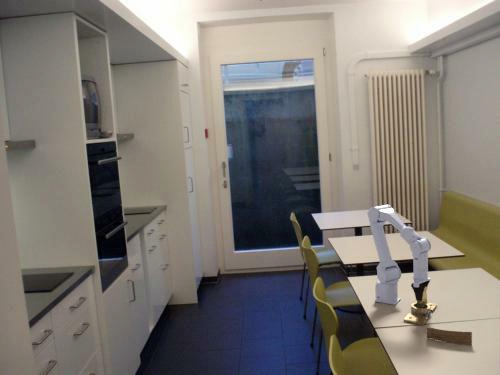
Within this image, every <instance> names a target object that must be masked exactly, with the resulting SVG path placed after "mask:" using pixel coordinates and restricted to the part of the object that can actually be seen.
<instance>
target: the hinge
mask: <svg viewBox="0 0 500 375" xmlns="http://www.w3.org/2000/svg"><path fill="white" fill-rule="evenodd" d="M437 306H438V304H437V303H432V302H427V304H425V305H420V304H417V301H416V302H412V303H411V305H410V312H408V313H407V314H406V316H405V317H404V318H403V322H404V323H408V322H409V324H413V323H414V324H413V325H419V326H425V324H426V322H428V320H429V317H430V316H431V313H433V312H434V311H435V309H436V308H437Z"/></svg>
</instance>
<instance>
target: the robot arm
mask: <svg viewBox="0 0 500 375" xmlns="http://www.w3.org/2000/svg"><path fill="white" fill-rule="evenodd" d="M367 216H368V217H367V218H368V221H369V226H370V230H371V234H372V237H373V238H372V239H373V241H374V245H375V248H376V252H377V256H378V260H379V263H378V265H377V266H376V273H377V274H376V277H377V279H378V280H377V281H376V283H375V300H374V301H375V302H378V303H383V304H390V305H394V306H396V305H397V303H399V302H400V301H401V297H398V293H399V292H398V289H399V287H398V285H399V284H398V282H400V279H401V278H402V271H401V269H400V267H399V266H398V263H397V262H396V261H394V260H393V259H392V254H391V251H390V247H389V245H388V241H387V240H388V239H387V237H386V234H385V230H384V225H385V223H387V222H388V223H389V224H391V225H392V227H394V228H395V229H396V230H397V231H399V234H400V237H401V238H402V239H403V240H404V241H405V242H406V243H407V245H409V248H410V251H411V253H412V258H413V259H412V260H413V262H412V263H413V265H412V266H413V268H412V269H413V276H412V279H413V280H412V281H413V282H412V283H411V284H410V286H411V289H412V290H413V293H414V296H415V300H416V301H417V300H418V301H422V298H423V292H424V289H425V287H426V286H427V288H428V287H429V284H430V282H431V280H432V278H431V277H429V252H430V250H432V245H431V242H430V240H429V239H428V238H426V237H423V236H421V235H419V234H418V233H417V231H415V230H414V227H412V226H407V225H406V224H405V223H404V222H403V221H402V220H401V219H400V218H399V216H398V215H397V214H396V213H395V209H394V208H393V207H392V206H391V205H390V204H383V205H377V206H371V207H370V208H369V210H368V211H367ZM424 285H425V286H424Z"/></svg>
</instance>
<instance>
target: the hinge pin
mask: <svg viewBox="0 0 500 375" xmlns="http://www.w3.org/2000/svg"><path fill="white" fill-rule="evenodd" d="M424 286H425V285H424ZM427 290H428V287H427V286H426V287H425V289H424V292H423V298H422V301H418V300H416V302H417V304H420V305H425V304H427V303H428V293H427Z"/></svg>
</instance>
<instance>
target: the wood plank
mask: <svg viewBox="0 0 500 375" xmlns="http://www.w3.org/2000/svg"><path fill="white" fill-rule="evenodd" d="M426 338H427V339H432V340H435V341H439V342H444V343H450V344H454V345H455V344H456V345H464V346H472V345H473V344H472V343H473V341H472V340H473V332H472V331H460V330H459V331H457V330H456V331H455V330H448V329H447V330H446V329H445V330H444V329H439V328H434V327H426Z"/></svg>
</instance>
